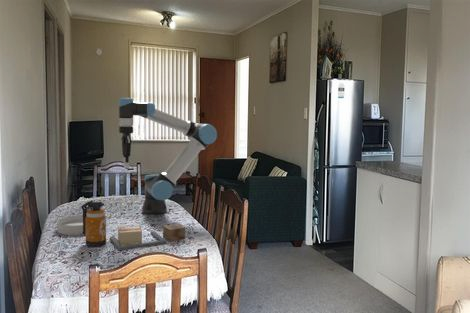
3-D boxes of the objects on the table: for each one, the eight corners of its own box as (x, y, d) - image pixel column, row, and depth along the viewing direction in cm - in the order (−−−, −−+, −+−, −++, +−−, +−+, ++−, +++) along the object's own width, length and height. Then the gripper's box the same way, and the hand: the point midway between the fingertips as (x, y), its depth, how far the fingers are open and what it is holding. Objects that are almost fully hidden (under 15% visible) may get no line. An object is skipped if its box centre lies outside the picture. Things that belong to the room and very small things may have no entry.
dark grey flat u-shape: (154, 233, 204) (154, 230, 204) (166, 243, 188) (166, 241, 188) (109, 238, 193) (109, 236, 193) (118, 250, 178) (118, 247, 177)
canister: (99, 247, 180) (99, 203, 178) (77, 245, 183) (76, 202, 180) (109, 241, 189) (109, 199, 187) (88, 239, 191) (87, 198, 189)
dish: (75, 238, 194) (75, 228, 194) (47, 230, 206) (47, 220, 205) (111, 227, 213) (111, 218, 212) (84, 221, 224) (84, 212, 224)
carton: (139, 238, 196) (139, 226, 195) (142, 243, 188) (142, 230, 187) (118, 240, 192) (118, 227, 191) (119, 245, 185) (119, 232, 184)
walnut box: (178, 235, 202) (178, 223, 201) (185, 239, 195) (185, 227, 194) (163, 237, 197) (163, 225, 197) (169, 242, 191) (169, 229, 190)
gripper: (116, 125, 227) (117, 167, 230) (122, 126, 216) (122, 170, 218) (129, 125, 231) (130, 166, 233) (136, 126, 219) (136, 169, 222)
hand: (126, 168), depth 226 cm, fingers closed
